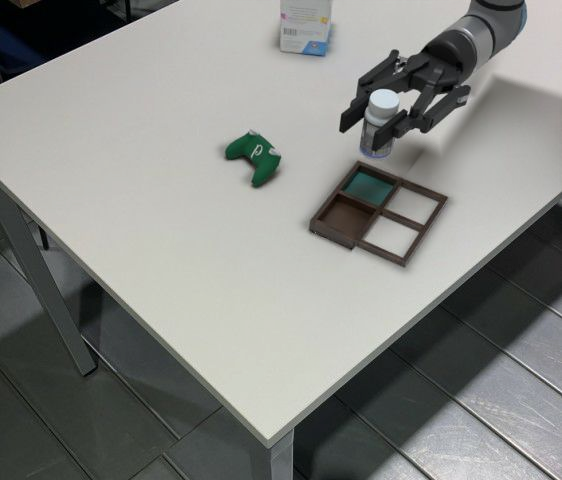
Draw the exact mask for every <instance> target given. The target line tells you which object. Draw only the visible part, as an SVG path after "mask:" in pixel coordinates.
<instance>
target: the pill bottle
mask: <svg viewBox="0 0 562 480" xmlns="http://www.w3.org/2000/svg"><path fill="white" fill-rule="evenodd" d="M400 102H401V98H400V95H398V94H396V93H395V92H393V91H391V90H387V89H379V90H376V91H374V92H373V93H372V94H371V96H370V99H369V106H368V107H367V108H366V110H365V114H364V118H363V119H362V121H363V122H362V128H361V133H360V134H361V135H360V140H359V148H358V149H359V152H360V154H361V155H362V156H363V157H364V158H366V159H368V160H372V161H376V162H377V161H384V160H386V159H388V158H389V157H390V156H391V155H392V152H393V149H394V145H395V139H396V138H395V137H393V138H392V139H391V140H390V141H389V142H387V143H386V144H385V145H384V146H383V147H381V148H380V149H379V150H378V151H377V152H374V151H373V150H371V148H372V143H373V137H374V132H375V131H377V130H378V129H379V128H380V127H382V126H383V125H384V124H385V123H386V122H388V121H389V120H390V119H391V118H393V117H394V116H395V115H396V114H398V113H399V112H400V111H399V108H400Z"/></svg>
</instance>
